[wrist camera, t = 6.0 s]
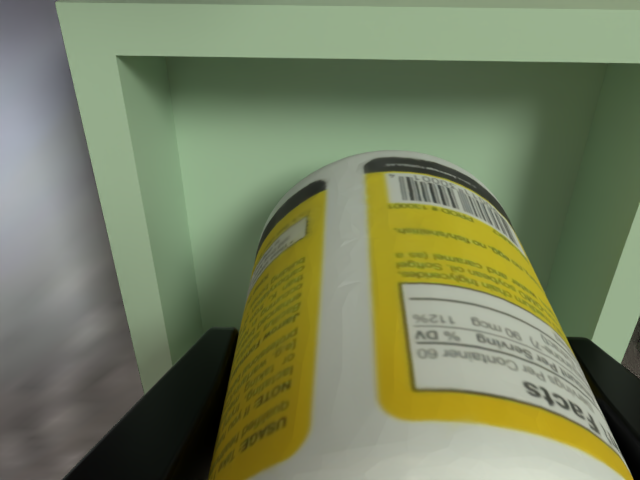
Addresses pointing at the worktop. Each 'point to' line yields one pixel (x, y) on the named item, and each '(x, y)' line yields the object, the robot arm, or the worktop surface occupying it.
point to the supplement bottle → (403, 340)
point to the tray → (355, 137)
